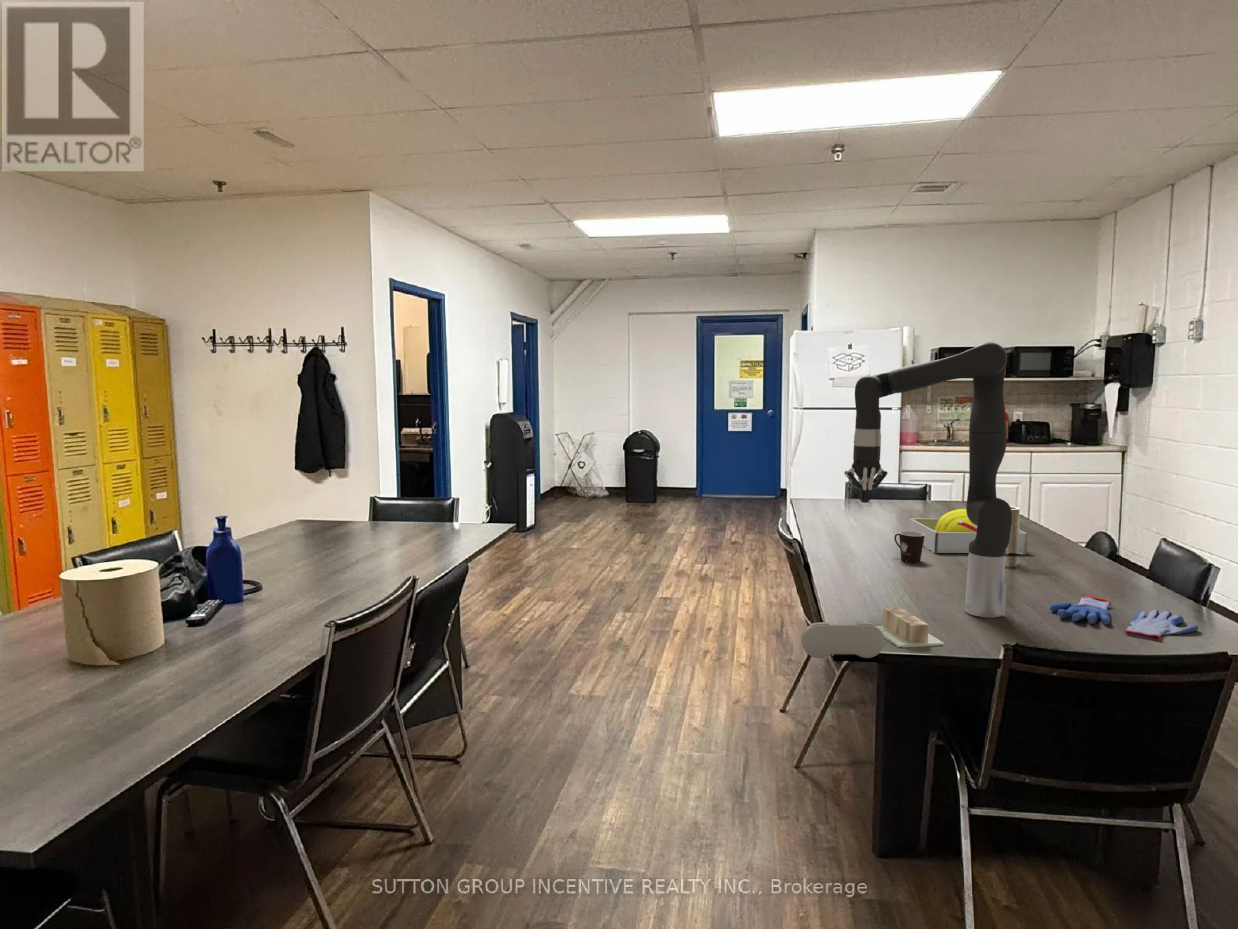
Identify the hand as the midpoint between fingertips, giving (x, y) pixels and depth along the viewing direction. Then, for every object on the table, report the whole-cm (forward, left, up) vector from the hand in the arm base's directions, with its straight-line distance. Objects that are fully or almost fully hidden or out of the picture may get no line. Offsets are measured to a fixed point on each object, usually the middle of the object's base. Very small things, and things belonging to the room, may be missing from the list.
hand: (864, 502), depth 219 cm
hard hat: (-58, -69, -29) cm, 94 cm away
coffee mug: (-31, -47, -29) cm, 63 cm away
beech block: (0, +26, -26) cm, 37 cm away
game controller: (+18, +48, -29) cm, 59 cm away
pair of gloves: (-65, +19, -30) cm, 74 cm away
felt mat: (-2, +34, -29) cm, 45 cm away
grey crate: (-61, -71, -29) cm, 98 cm away
